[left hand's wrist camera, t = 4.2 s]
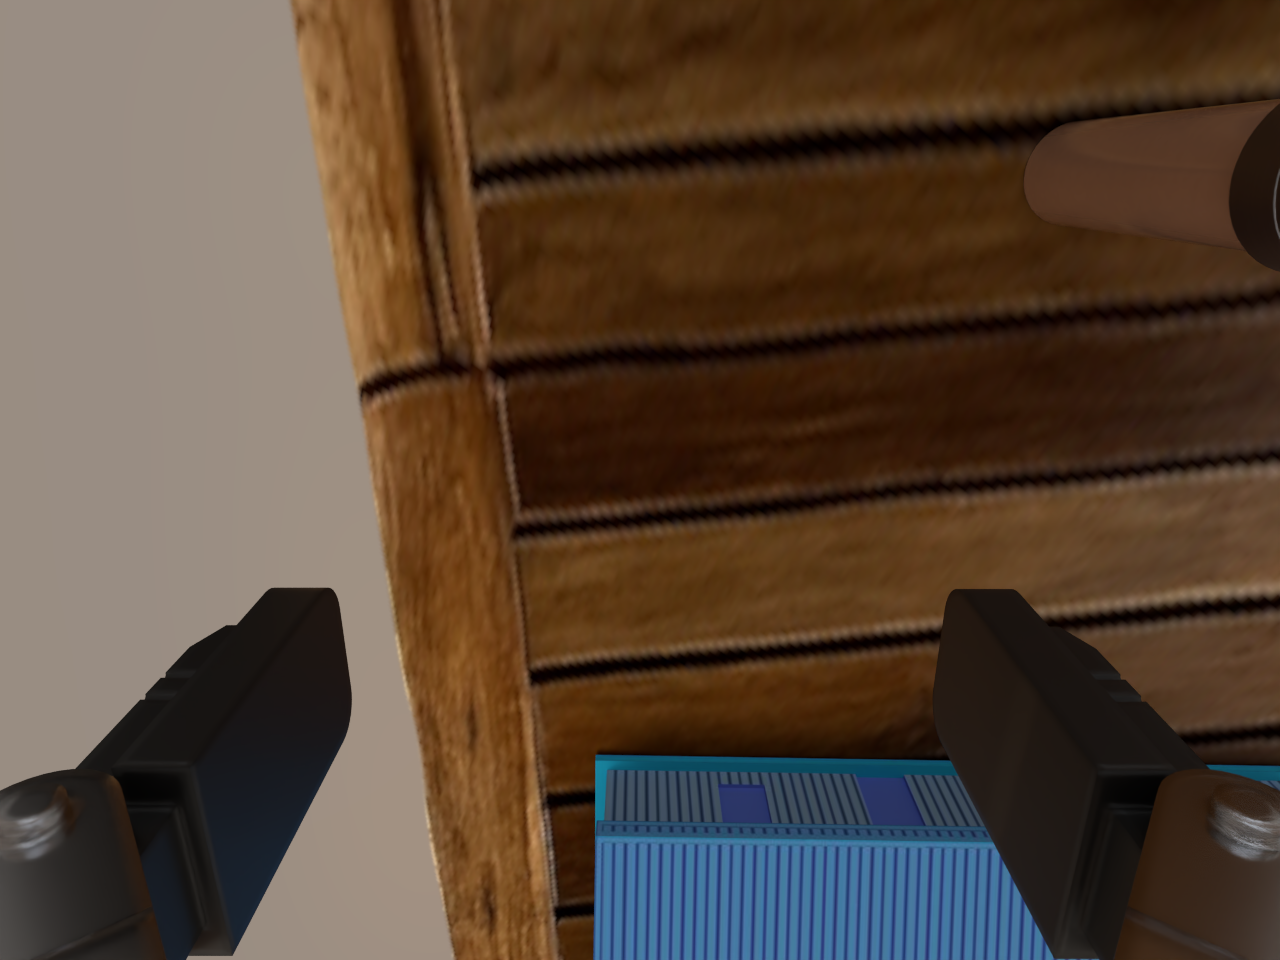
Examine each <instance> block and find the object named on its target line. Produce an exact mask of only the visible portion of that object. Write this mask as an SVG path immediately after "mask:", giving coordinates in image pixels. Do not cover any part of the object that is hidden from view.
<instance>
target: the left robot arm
mask: <svg viewBox="0 0 1280 960" xmlns="http://www.w3.org/2000/svg"><path fill="white" fill-rule="evenodd" d="M351 706H352V693H351V684H350V677H349V670H348V663H347V656H346V649H345V642H344V634H343V627H342V620H341V613H340V607H339V602H338V598H337V596H336V594H335V592H334V591H333V590H332V589H331V588H271V589H269V590H268V591H267V592H265V594H264V595H263V596H262V597H261V598H260V599H259V600H258V602H257V603H256V604H255V605H254V606H253V607H252V608H251V609H250V611H249V612H248V613H247V614H246V615H245V616H244V617H243V619H242V620H241V621H240V622H239V623H238V624H237V625H226V626H225V627H223V628H221V629H219V630H218V631H216V632H214V633H213V634H211V635H209V636H208V637H206V638H204V639H203V640H201V641H199V642H197V643H196V644H194V645H192V646H191V647H189V648H188V649H187V651H186V652H185V653H184V654H183V655H182V656H181V657H180V658H179V659H178V660H177V661H176V662H175V663H174V664H173V665H172V666H171V668H170V669H169V670H168V671H167V672H166V677H165V678H160V679H159V680H158V681H157V682H156V684H155V685H154V686H153V687H152V688H151V689H150V690H149V691H148V692H147V693H146V697H145V700H140V701H139V702H138V703H137V704H136V705H135V706H134V707H133V708H132V709H131V710H130V711H129V712H128V713H127V714H126V715H125V717H124V718H123V719H122V720H121V721H120V722H119V723H118V724H117V725H116V726H115V727H114V728H113V729H112V730H111V731H110V733H109V734H108V735H107V736H106V737H105V738H104V739H103V740H102V741H101V742H100V743H99V744H98V745H97V746H96V747H95V748H94V750H93V751H92V752H91V753H90V754H89V755H88V756H87V757H86V758H85V759H84V760H83V761H82V762H81V763H80V764H79V766H78V767H77V768H76V769H70V770H62V771H56V772H52V773H47V774H43V775H39V776H36V777H33V778H30V779H27V780H24V781H22V782H19V783H16V784H14V785H11V786H9V787H7V788H5V789H3V790H1V791H0V960H186V959H187V957H188V956H232V955H233V954H234V952H235V950H236V948H237V946H238V944H239V942H240V940H241V938H242V936H243V934H244V932H245V931H246V929H247V927H248V925H249V923H250V921H251V919H252V917H253V915H254V913H255V911H256V909H257V907H258V905H259V903H260V901H261V900H262V898H263V896H264V894H265V892H266V890H267V888H268V886H269V884H270V882H271V880H272V878H273V876H274V874H275V872H276V871H277V869H278V867H279V865H280V863H281V861H282V859H283V857H284V855H285V853H286V851H287V849H288V847H289V845H290V843H291V841H292V840H293V838H294V836H295V834H296V832H297V830H298V828H299V826H300V824H301V822H302V820H303V818H304V816H305V814H306V812H307V811H308V809H309V807H310V805H311V803H312V801H313V799H314V797H315V795H316V793H317V791H318V789H319V787H320V786H321V784H322V782H323V780H324V778H325V776H326V774H327V772H328V770H329V768H330V766H331V764H332V762H333V760H334V758H335V757H336V755H337V753H338V751H339V749H340V747H341V745H342V743H343V741H344V739H345V736H346V733H347V730H348V727H349V722H350V716H351ZM933 715H934V721H935V726H936V730H937V734H938V737H939V739H940V741H941V744H942V746H943V747H944V749H945V751H946V753H947V755H948V757H949V759H950V761H951V763H952V765H953V767H954V768H955V770H956V772H957V774H958V776H959V778H960V780H961V782H962V784H963V786H964V788H965V789H966V791H967V793H968V795H969V797H970V799H971V801H972V803H973V805H974V807H975V809H976V810H977V812H978V814H979V816H980V818H981V820H982V822H983V824H984V826H985V828H986V830H987V832H988V833H989V835H990V837H991V839H992V841H993V843H994V845H995V847H996V849H997V851H998V853H999V854H1000V856H1001V858H1002V860H1003V862H1004V864H1005V866H1006V868H1007V870H1008V872H1009V874H1010V875H1011V877H1012V879H1013V881H1014V883H1015V885H1016V887H1017V889H1018V891H1019V893H1020V895H1021V896H1022V898H1023V900H1024V902H1025V904H1026V906H1027V908H1028V910H1029V912H1030V914H1031V916H1032V917H1033V919H1034V921H1035V923H1036V925H1037V927H1038V929H1039V931H1040V933H1041V935H1042V937H1043V938H1044V940H1045V942H1046V944H1047V946H1048V948H1049V950H1050V952H1051V954H1052V956H1053V958H1054V959H1099V960H1280V791H1279V790H1277V789H1275V788H1273V787H1271V786H1269V785H1267V784H1264V783H1261V782H1259V781H1256V780H1253V779H1251V778H1247V777H1244V776H1241V775H1237V774H1233V773H1229V772H1224V771H1218V770H1210V769H1209V768H1208V766H1207V765H1206V764H1205V763H1204V762H1203V761H1202V760H1201V759H1200V758H1199V757H1198V756H1197V755H1196V754H1195V753H1194V752H1193V751H1192V750H1191V749H1190V747H1189V746H1188V745H1187V744H1186V743H1185V742H1184V741H1183V740H1182V739H1181V738H1180V737H1179V736H1178V735H1177V734H1176V733H1175V732H1174V731H1173V730H1172V728H1171V727H1170V726H1169V725H1168V724H1167V723H1166V722H1165V721H1164V720H1163V719H1162V718H1161V717H1160V716H1159V715H1158V714H1157V713H1156V712H1155V711H1154V709H1153V708H1152V707H1151V706H1150V705H1149V704H1148V703H1147V702H1142V701H1141V696H1140V695H1139V694H1138V693H1137V692H1136V690H1135V689H1134V688H1133V687H1132V686H1131V685H1130V684H1129V683H1128V682H1127V681H1126V680H1121V678H1120V674H1119V673H1118V671H1117V670H1116V669H1115V668H1114V667H1113V666H1112V665H1111V664H1110V663H1109V662H1108V661H1107V660H1106V659H1105V658H1104V657H1103V656H1102V655H1101V654H1100V653H1099V651H1098V650H1097V649H1095V648H1094V647H1092V646H1090V645H1089V644H1087V643H1085V642H1084V641H1082V640H1080V639H1079V638H1077V637H1075V636H1073V635H1072V634H1070V633H1068V632H1067V631H1065V630H1063V629H1062V628H1060V627H1049V626H1048V625H1047V624H1046V623H1045V622H1044V621H1043V619H1042V618H1041V617H1040V616H1039V615H1038V614H1037V613H1036V612H1035V611H1034V609H1033V608H1032V607H1031V606H1030V605H1029V604H1028V603H1027V602H1026V600H1025V599H1024V598H1023V597H1022V596H1021V595H1020V594H1019V593H1018V592H1017V591H1015V590H1013V589H955V590H953V591H952V592H951V593H950V594H949V596H948V599H947V602H946V606H945V612H944V619H943V626H942V633H941V640H940V647H939V654H938V661H937V668H936V675H935V682H934V689H933Z"/></svg>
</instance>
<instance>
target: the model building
mask: <svg viewBox="0 0 1280 960" xmlns="http://www.w3.org/2000/svg"><path fill="white" fill-rule="evenodd" d="M1207 766H1208V768H1209V769H1210V770H1218V771H1224V772H1229V773H1233V774H1237V775H1241V776H1244V777H1247V778H1251V779H1253V780H1256V781H1259V782H1261V783H1264V784H1267V785H1269V786H1271V787H1273V788H1275V789H1277V790H1279V791H1280V766H1252V765H1207ZM594 960H1099V959H1054V958H1053V956H1052V954H1051V952H1050V950H1049V948H1048V946H1047V944H1046V942H1045V940H1044V938H1043V937H1042V935H1041V933H1040V931H1039V929H1038V927H1037V925H1036V923H1035V921H1034V919H1033V917H1032V916H1031V914H1030V912H1029V910H1028V908H1027V906H1026V904H1025V902H1024V900H1023V898H1022V896H1021V895H1020V893H1019V891H1018V889H1017V887H1016V885H1015V883H1014V881H1013V879H1012V877H1011V875H1010V874H1009V872H1008V870H1007V868H1006V866H1005V864H1004V862H1003V860H1002V858H1001V856H1000V854H999V853H998V851H997V849H996V847H995V845H994V843H993V841H992V839H991V837H990V835H989V833H988V832H987V830H986V828H985V826H984V824H983V822H982V820H981V818H980V816H979V814H978V812H977V810H976V809H975V807H974V805H973V803H972V801H971V799H970V797H969V795H968V793H967V791H966V789H965V788H964V786H963V784H962V782H961V780H960V778H959V776H958V774H957V772H956V770H955V768H954V767H953V765H952V763H951V761H947V760H886V759H825V758H764V757H703V756H642V755H596V775H595V903H594Z"/></svg>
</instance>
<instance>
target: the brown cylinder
mask: <svg viewBox="0 0 1280 960" xmlns="http://www.w3.org/2000/svg"><path fill="white" fill-rule="evenodd" d="M1279 103H1280V99H1277V100H1268V101H1259V102H1250V103H1240V104H1231V105H1222V106H1212V107H1203V108H1194V109H1184V110H1175V111H1166V112H1157V113H1147V114H1138V115H1129V116H1119V117H1110V118H1101V119H1091V120H1082V121H1075V122H1070V123H1067V124H1064V125H1062V126H1060V127H1057V128H1056V129H1054V130H1053V131H1051V132H1050V133H1049V134H1047V135H1046V136H1045V137H1044V138H1043V139H1042V140H1041V141H1040V142H1039V143H1038V145H1037V146H1036V147H1035V149H1034V150H1033V152H1032V154H1031V156H1030V158H1029V160H1028V163H1027V165H1026V169H1025V174H1024V191H1025V195H1026V199H1027V201H1028V203H1029V206H1030V207H1031V209H1032V210H1033V211H1034V212H1035V214H1036V215H1037V216H1039V217H1040V218H1041V219H1043V220H1044V221H1046V222H1048V223H1051V224H1054V225H1059V226H1066V227H1073V228H1081V229H1088V230H1095V231H1103V232H1110V233H1117V234H1124V235H1132V236H1139V237H1146V238H1154V239H1161V240H1168V241H1175V242H1183V243H1190V244H1197V245H1205V246H1212V247H1219V248H1226V249H1234V250H1241V251H1246V250H1245V249H1244V247H1243V246H1242V245H1241V243H1240V242H1239V240H1238V238H1237V236H1236V234H1235V232H1234V229H1233V226H1232V223H1231V218H1230V213H1229V189H1230V184H1231V178H1232V174H1233V171H1234V168H1235V165H1236V162H1237V160H1238V157H1239V155H1240V153H1241V150H1242V149H1243V147H1244V145H1245V143H1246V142H1247V140H1248V138H1249V137H1250V135H1251V134H1252V132H1253V131H1254V130H1255V128H1256V127H1257V126H1258V124H1259V123H1260V122H1261V121H1262V120H1263V119H1264V118H1265V116H1266V115H1267V114H1268V113H1269V112H1271V111H1272V110H1273V109H1274V108H1275V107H1276V106H1277V105H1278V104H1279Z"/></svg>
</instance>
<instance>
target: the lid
mask: <svg viewBox="0 0 1280 960" xmlns="http://www.w3.org/2000/svg"><path fill="white" fill-rule="evenodd" d="M1229 213H1230V218H1231V223H1232V226H1233V229H1234V232H1235V234H1236V236H1237V238H1238V240H1239V242H1240V243H1241V245H1242V246H1243V247H1244V249H1245V250H1246V251H1247V252H1248V254H1250V255H1251V256H1252V257H1253V258H1254V259H1255V260H1256V261H1258V262H1259V263H1261V264H1263V265H1264V266H1266V267H1268V268H1271V269H1273V270H1276V271H1280V103H1279V104H1278V105H1277V106H1276V107H1275V108H1274V109H1273V110H1272V111H1271V112H1269V113H1268V114H1267V115H1266V116H1265V118H1264V119H1263V120H1262V121H1261V122H1260V123H1259V124H1258V126H1257V127H1256V128H1255V130H1254V131H1253V132H1252V134H1251V135H1250V137H1249V138H1248V140H1247V142H1246V143H1245V145H1244V147H1243V149H1242V150H1241V153H1240V155H1239V157H1238V160H1237V162H1236V165H1235V168H1234V171H1233V174H1232V178H1231V184H1230V189H1229Z"/></svg>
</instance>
